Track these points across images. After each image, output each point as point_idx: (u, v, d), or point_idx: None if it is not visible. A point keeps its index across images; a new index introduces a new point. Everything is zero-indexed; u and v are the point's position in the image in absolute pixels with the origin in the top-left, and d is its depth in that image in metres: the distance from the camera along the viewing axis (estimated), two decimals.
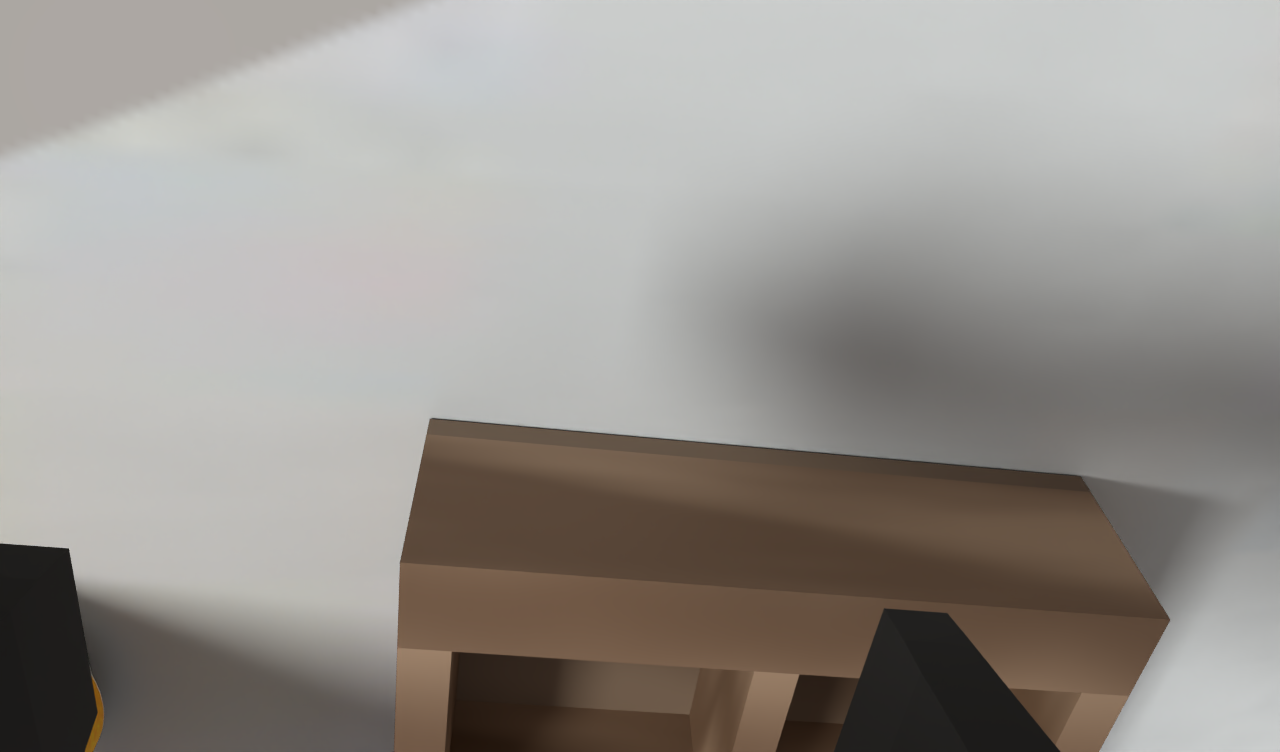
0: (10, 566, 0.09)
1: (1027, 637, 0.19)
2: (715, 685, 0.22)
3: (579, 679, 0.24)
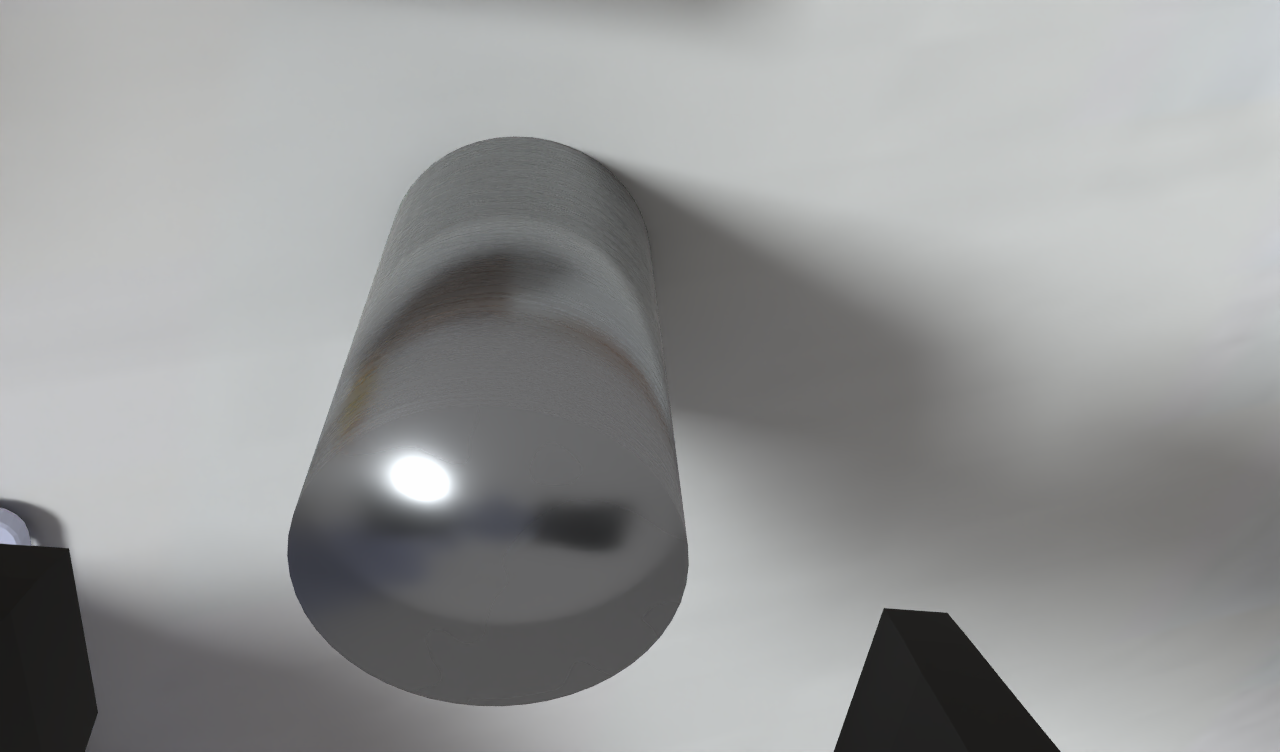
0: (9, 567, 0.09)
1: None
2: None
3: None
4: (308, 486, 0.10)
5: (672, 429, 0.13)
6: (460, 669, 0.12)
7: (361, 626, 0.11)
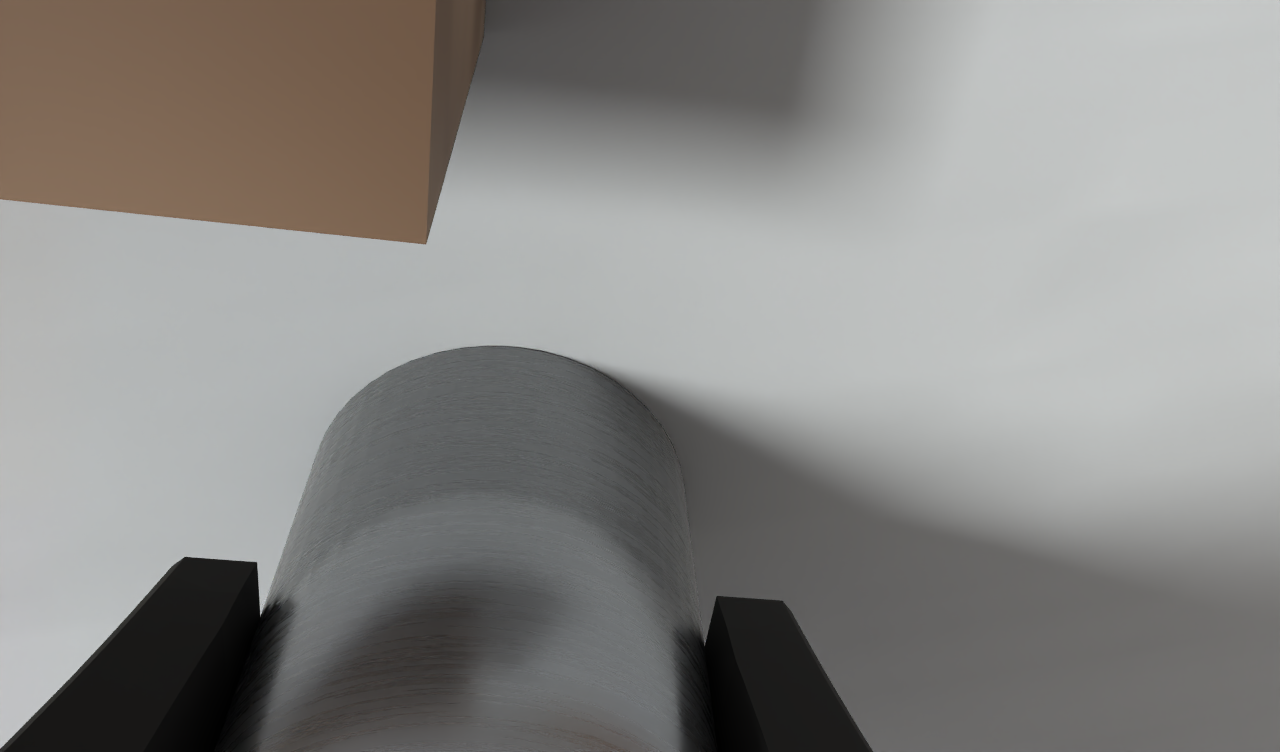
0: (208, 580, 0.09)
1: None
2: None
3: None
4: None
5: None
6: None
7: None
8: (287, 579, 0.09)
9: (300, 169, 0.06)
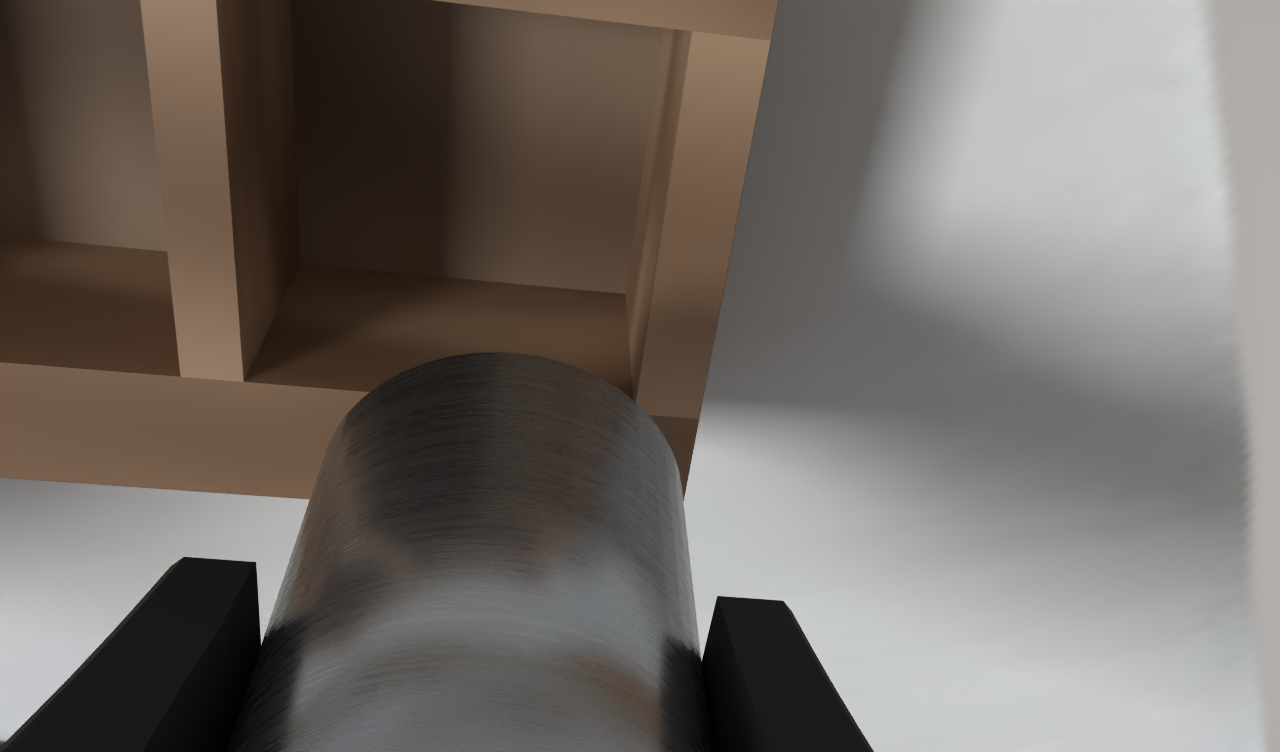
0: (208, 580, 0.09)
1: None
2: None
3: (69, 189, 0.17)
4: None
5: None
6: None
7: None
8: (287, 591, 0.09)
9: None
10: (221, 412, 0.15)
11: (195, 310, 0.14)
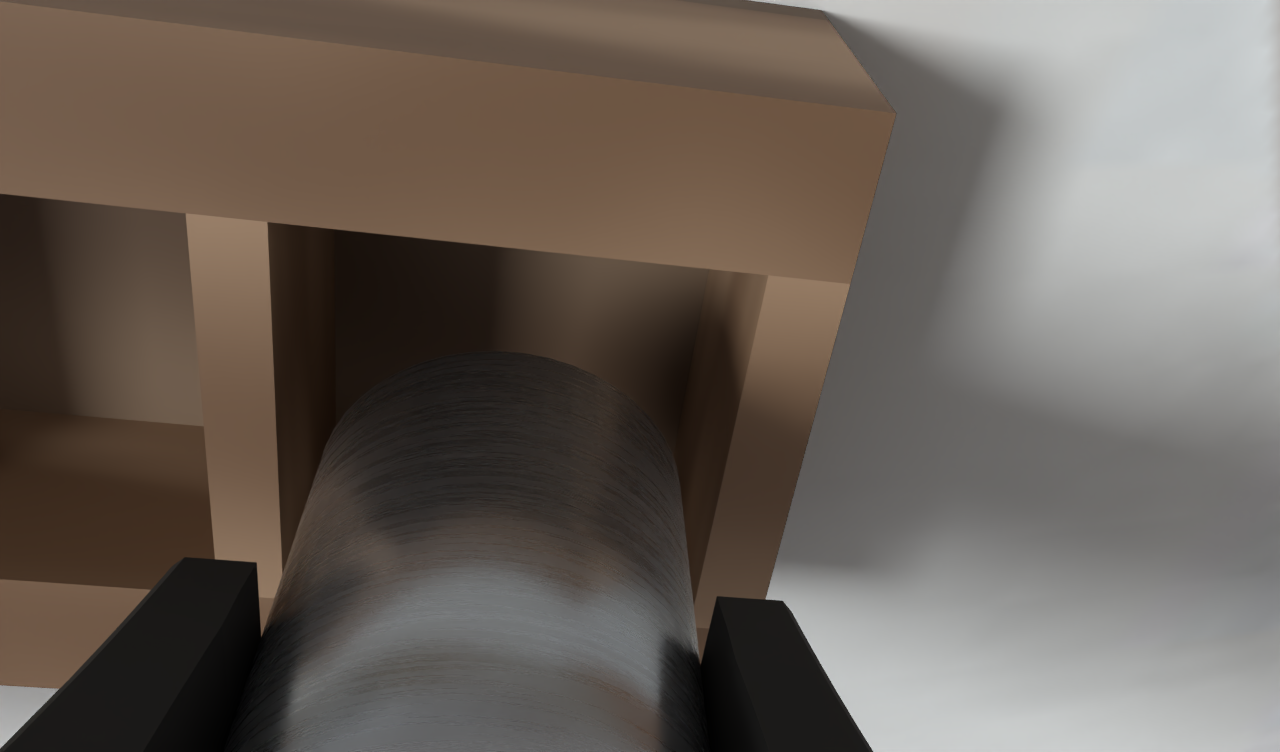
0: (208, 582, 0.09)
1: (651, 148, 0.11)
2: None
3: (97, 367, 0.16)
4: None
5: None
6: None
7: None
8: (283, 592, 0.09)
9: None
10: None
11: (236, 533, 0.13)
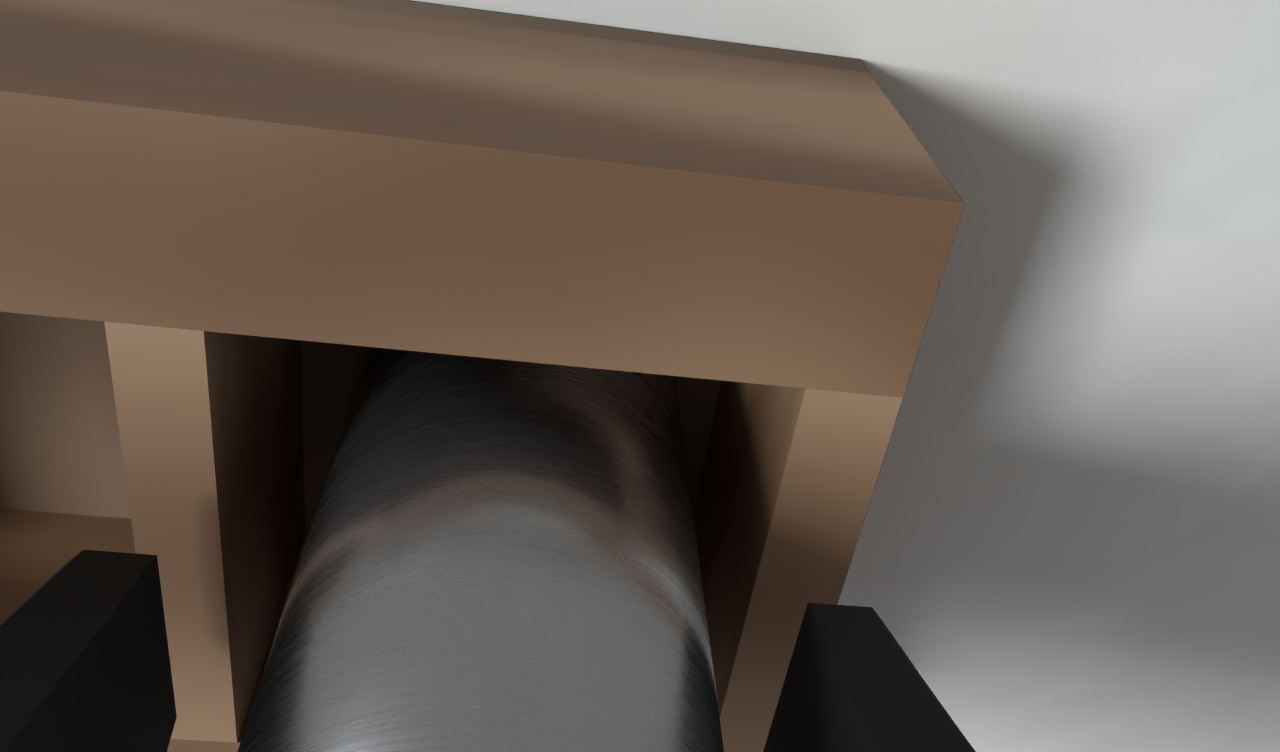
0: (103, 574, 0.09)
1: (667, 244, 0.09)
2: None
3: (33, 458, 0.14)
4: None
5: (712, 680, 0.09)
6: None
7: None
8: (341, 450, 0.11)
9: None
10: None
11: (179, 673, 0.11)
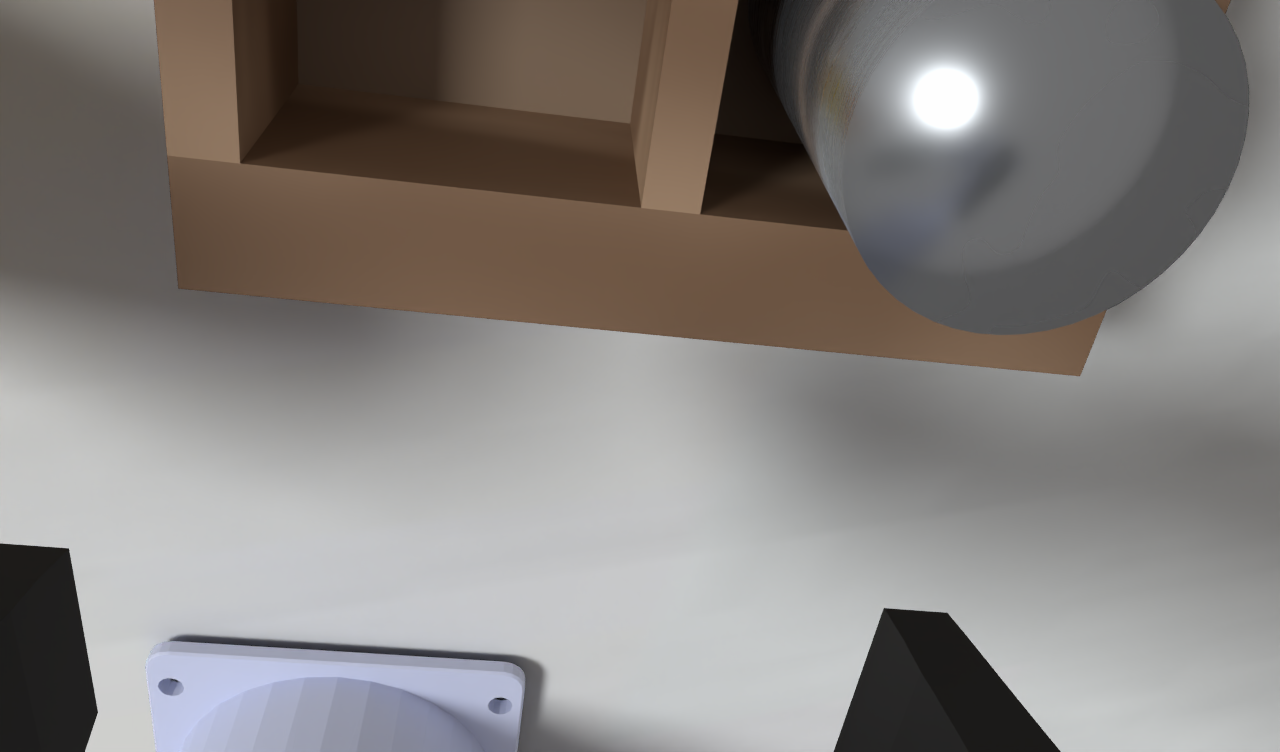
0: (9, 567, 0.09)
1: None
2: None
3: (471, 47, 0.17)
4: (882, 61, 0.10)
5: None
6: (990, 287, 0.12)
7: (901, 239, 0.11)
8: None
9: (1047, 352, 0.16)
10: (670, 247, 0.15)
11: (673, 136, 0.14)
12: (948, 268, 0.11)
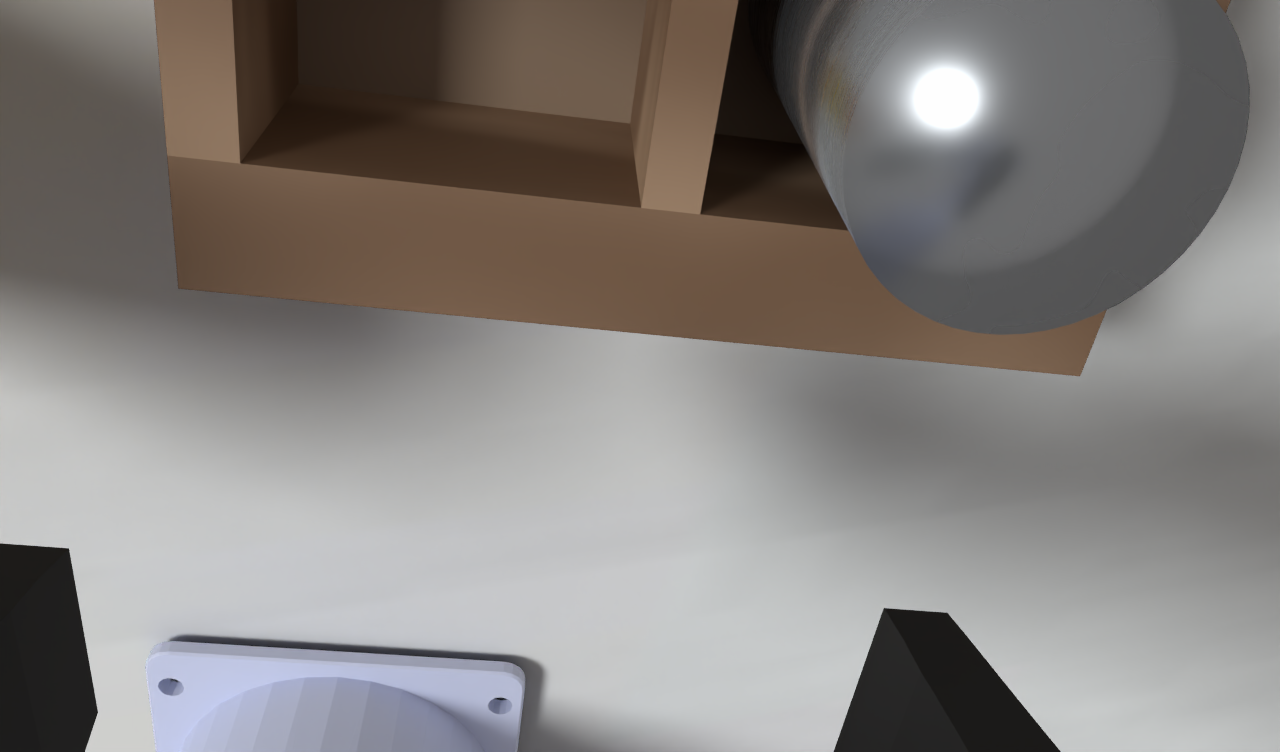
0: (9, 567, 0.09)
1: None
2: None
3: (471, 47, 0.17)
4: (882, 61, 0.10)
5: None
6: (990, 287, 0.12)
7: (901, 240, 0.11)
8: None
9: (1047, 352, 0.16)
10: (670, 247, 0.15)
11: (673, 136, 0.14)
12: (948, 268, 0.11)
